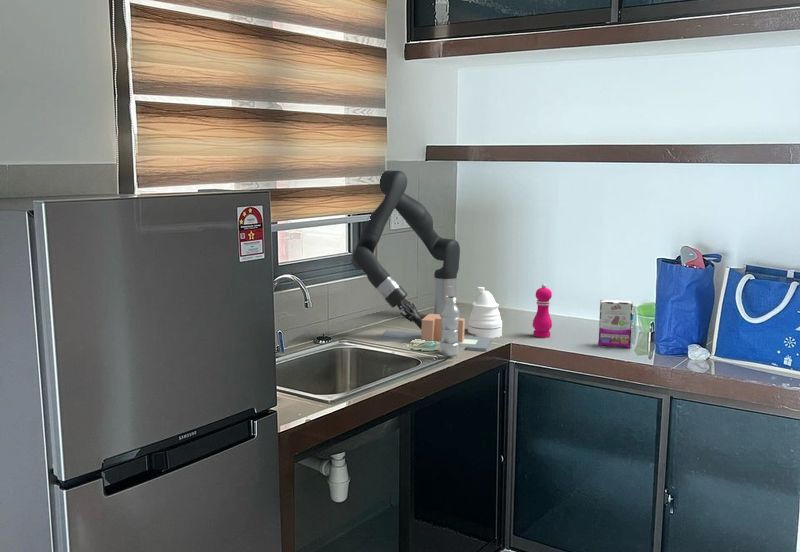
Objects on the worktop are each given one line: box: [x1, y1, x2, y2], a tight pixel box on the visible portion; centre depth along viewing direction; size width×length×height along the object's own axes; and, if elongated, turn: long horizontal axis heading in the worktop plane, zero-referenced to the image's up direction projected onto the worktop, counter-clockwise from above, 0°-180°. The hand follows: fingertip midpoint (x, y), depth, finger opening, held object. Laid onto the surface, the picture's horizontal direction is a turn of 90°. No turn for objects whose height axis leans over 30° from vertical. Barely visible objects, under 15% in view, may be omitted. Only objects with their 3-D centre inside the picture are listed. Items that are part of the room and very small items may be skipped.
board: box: [374, 329, 493, 352], centre depth 276 cm, size 17×40×1 cm, turn 76°
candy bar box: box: [598, 299, 633, 349], centre depth 274 cm, size 11×5×16 cm, turn 77°
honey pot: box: [467, 286, 503, 339], centre depth 288 cm, size 13×13×18 cm
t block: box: [420, 313, 466, 343], centre depth 274 cm, size 12×14×8 cm
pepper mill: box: [532, 283, 553, 339], centre depth 287 cm, size 7×7×20 cm
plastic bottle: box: [439, 296, 461, 358], centre depth 254 cm, size 6×7×20 cm
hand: (423, 327), depth 276 cm, fingers closed
